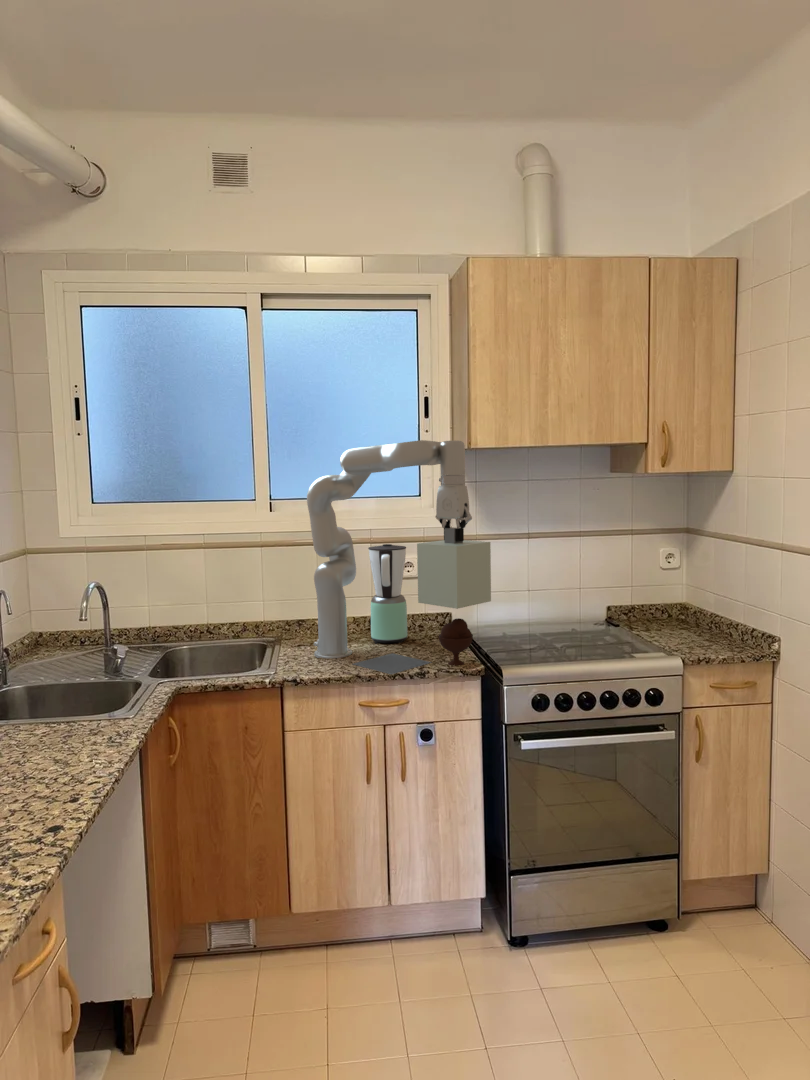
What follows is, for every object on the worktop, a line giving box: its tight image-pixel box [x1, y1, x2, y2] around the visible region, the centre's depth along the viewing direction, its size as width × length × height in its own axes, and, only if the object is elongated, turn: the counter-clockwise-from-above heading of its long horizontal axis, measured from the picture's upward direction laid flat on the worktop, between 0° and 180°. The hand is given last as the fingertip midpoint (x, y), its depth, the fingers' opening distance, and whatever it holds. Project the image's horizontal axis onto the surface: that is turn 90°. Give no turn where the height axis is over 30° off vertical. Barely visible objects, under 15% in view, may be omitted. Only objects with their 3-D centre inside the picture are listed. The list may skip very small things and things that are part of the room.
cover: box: [416, 527, 492, 610], centre depth 227 cm, size 16×16×23 cm
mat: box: [352, 653, 433, 675], centre depth 232 cm, size 18×18×1 cm
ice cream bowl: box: [438, 618, 474, 667], centre depth 230 cm, size 11×11×15 cm
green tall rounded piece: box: [367, 543, 408, 645], centre depth 261 cm, size 19×13×35 cm
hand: (453, 540), depth 227 cm, fingers closed on cover, 4 cm apart
